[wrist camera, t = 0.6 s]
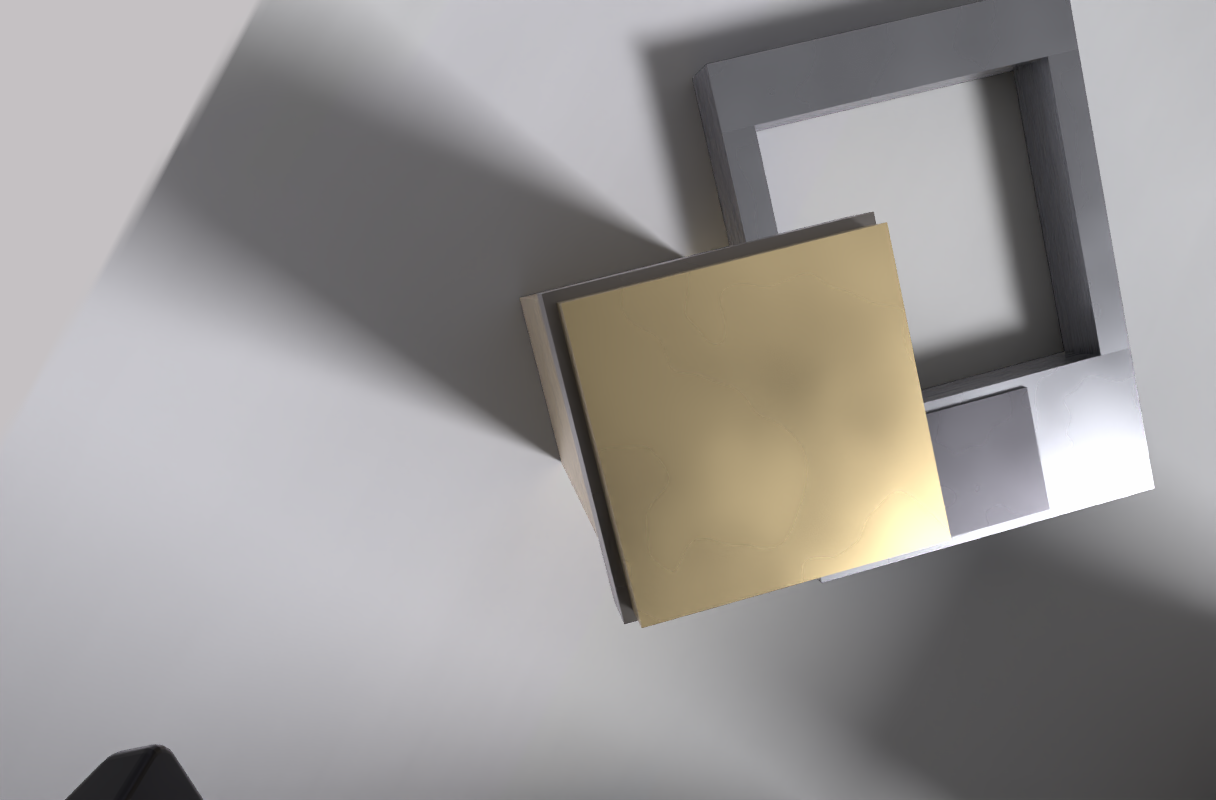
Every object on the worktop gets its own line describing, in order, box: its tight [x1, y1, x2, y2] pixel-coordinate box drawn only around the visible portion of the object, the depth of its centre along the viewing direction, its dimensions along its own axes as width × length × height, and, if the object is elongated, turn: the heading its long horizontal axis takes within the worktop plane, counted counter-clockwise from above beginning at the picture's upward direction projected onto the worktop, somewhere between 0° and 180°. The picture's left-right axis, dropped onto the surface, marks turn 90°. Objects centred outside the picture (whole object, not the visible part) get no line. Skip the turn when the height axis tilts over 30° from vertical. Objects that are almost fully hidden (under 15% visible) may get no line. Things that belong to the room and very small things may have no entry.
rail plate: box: [692, 0, 1154, 583], centre depth 24 cm, size 12×8×2 cm
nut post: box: [520, 212, 951, 628], centre depth 18 cm, size 4×4×12 cm
